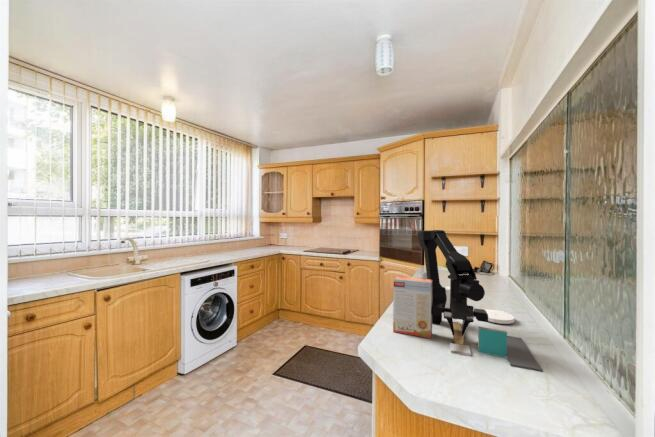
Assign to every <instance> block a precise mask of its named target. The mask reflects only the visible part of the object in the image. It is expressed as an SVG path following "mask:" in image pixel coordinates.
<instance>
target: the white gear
mask: <svg viewBox="0 0 655 437" xmlns="http://www.w3.org/2000/svg"><path fill="white" fill-rule="evenodd" d="M484 310H485V311H486V312H487V314H488V322H490V323H494V324H500V325H501V324H503V325H511V324H514V323H515V320H516V319H515V315H512V314H510V313H509V312H506V311H502V310H497V309H490V308H489V309H488V308H487V309H485V308H484Z"/></svg>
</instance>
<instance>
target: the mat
mask: <svg viewBox="0 0 655 437" xmlns="http://www.w3.org/2000/svg"><path fill="white" fill-rule="evenodd" d="M506 359H507V361H508V363H509V365H510V366H511V367H514V368H520V369H527V370H530V371H531V370H533V371H538V372H543V368H542V367H541V365H540V363H539V362H538V361H537V360H536V358H535V356H534V355H533V353H532V352H531V351H530V349H529V347H528V346H527V344H526V343H525V341H523V339H522V337H520V336H519V337H517V336H510V335H507V357H506Z"/></svg>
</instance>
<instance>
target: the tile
mask: <svg viewBox="0 0 655 437" xmlns="http://www.w3.org/2000/svg"><path fill="white" fill-rule="evenodd" d="M477 333H478V334H477V335H478V337H477V338H478V342H477V346H478V348H477V350H478V353H481V354H486V355H487V354H488V355H491V356H492V355H493V356H500V357H505V358H507V336H508V331H507V330H506V329H505V330H504V329H499V328H498V329H497V328H491V327H483V326H478V332H477Z"/></svg>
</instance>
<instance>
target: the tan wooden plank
mask: <svg viewBox="0 0 655 437" xmlns="http://www.w3.org/2000/svg"><path fill="white" fill-rule="evenodd" d="M453 327H454V335H453V334H452V337H453V338H452V339H453V342H454V343H453V342H450V343H449V349H450V354H451V353H452V354H456V355H457V354H458V355H463V356H468V357H472V352H471V348H470V346H469V345H467V344H464V335H462V327H461V324H460V322H459V321H457V322H456V321H453Z"/></svg>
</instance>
